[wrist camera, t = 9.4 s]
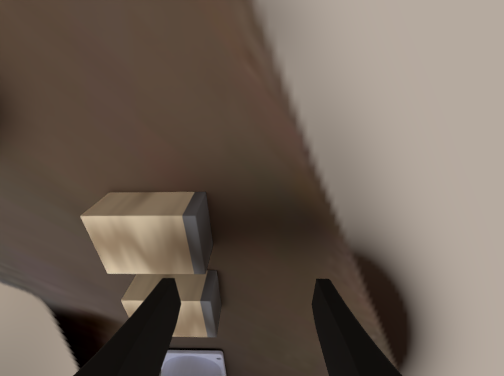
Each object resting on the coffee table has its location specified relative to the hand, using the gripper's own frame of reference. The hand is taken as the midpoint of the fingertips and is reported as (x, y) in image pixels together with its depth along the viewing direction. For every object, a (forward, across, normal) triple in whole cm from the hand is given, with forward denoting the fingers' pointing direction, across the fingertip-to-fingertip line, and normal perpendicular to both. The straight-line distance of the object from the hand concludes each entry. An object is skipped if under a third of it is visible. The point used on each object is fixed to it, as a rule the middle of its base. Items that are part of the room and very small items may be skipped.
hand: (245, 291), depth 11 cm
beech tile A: (+5, +3, +8) cm, 10 cm away
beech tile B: (+5, +3, 0) cm, 5 cm away
